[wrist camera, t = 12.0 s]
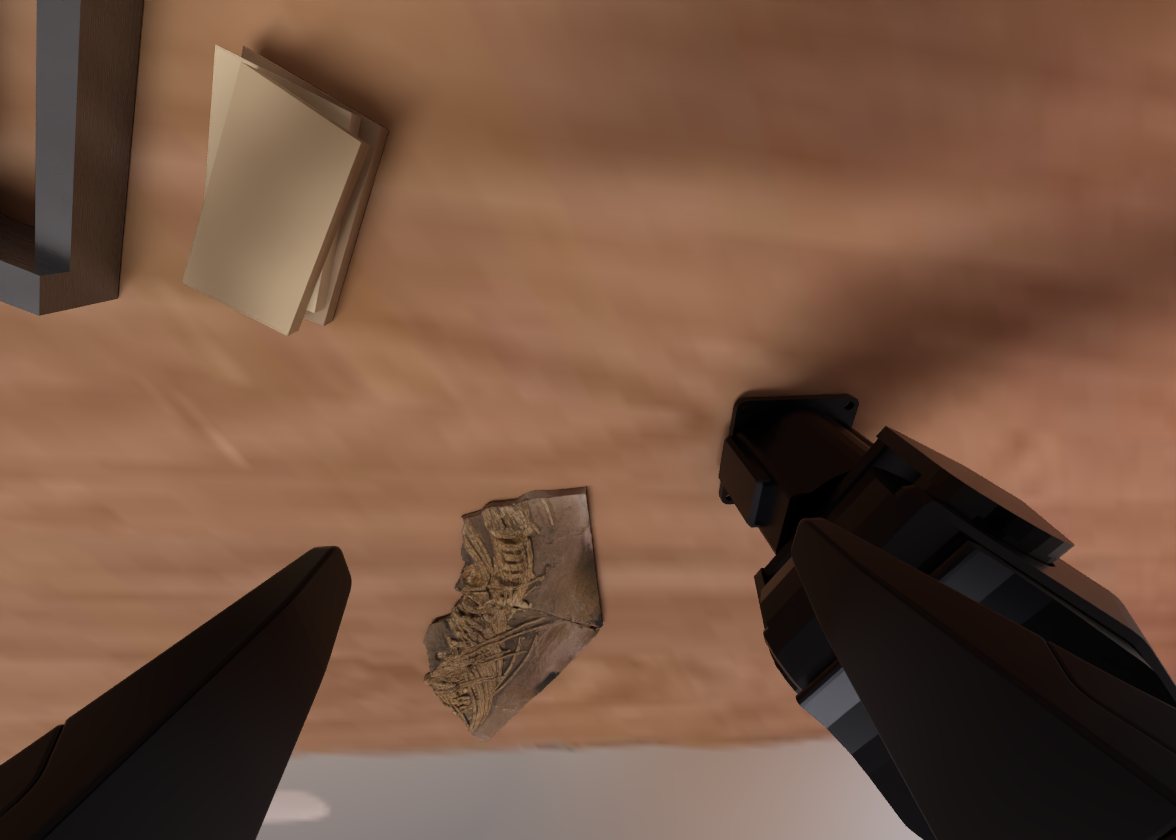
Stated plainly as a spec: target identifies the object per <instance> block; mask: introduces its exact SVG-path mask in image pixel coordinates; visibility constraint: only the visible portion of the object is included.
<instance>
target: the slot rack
mask: <svg viewBox="0 0 1176 840" xmlns="http://www.w3.org/2000/svg"><path fill="white" fill-rule="evenodd" d="M142 9H143V0H37V59H36V188H35V228H32V227H30V226H28V225H25V224H23V223H21V222H18V221H16V220H13V219H11V218H9V217H6V216H4V215H2V214H0V301H2V302H4V303H7V304H10V305H12V306H15V307H18V308H20V309H23V310H26V311H28V312H31V313H34V314H36V315H39V316H40V315H44V314H49V313H54V312H58V311H63V310H68V309H72V308H77V307H81V306H86V305H91V304H95V303H100V302H105V301H109V300H114V299H117V298H118V287H119V275H120V264H121V252H122V240H123V229H124V217H125V206H126V194H127V182H128V171H129V159H130V148H131V136H132V125H133V113H134V101H135V90H136V78H137V67H138V55H139V43H140V32H141V20H142Z"/></svg>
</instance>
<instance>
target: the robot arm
mask: <svg viewBox="0 0 1176 840" xmlns="http://www.w3.org/2000/svg"><path fill="white" fill-rule="evenodd" d="M848 402H849V404H848V405H847V406H846V407H844V406H845V404H846V403H848ZM746 405H748V407H747V409H746V410H744V411H741V410H742V408H743V407H744V406H746ZM858 405H859V402H858V399H856V398H855V397H853V396H852V395H850V394H834V395H806V396H779V397H751V398H741V399H739V400H738V401H737V402H736V403H735V405H734V408H733V414H732V420H731V426H730V432H729V436H728V437H727V438H726V439H725V441H724V447H723V453H722V459H721V465H720V471H719V479H720V481H721V484H720V490H719V497H720V498H721V500H722V502H723V503H725V504H735V505H736V507H737V508H738V510H739V511H740V513H741V515H742V516H743V518H744V520H745V521H746V523H747V524H748V525H749V526H750V527H751V528H752V527H758V528H759V529H760V531H761V533H762V534H763V536H764V537H765V539H766V540H767V542H768V543H769V545H770V546H771V548H772V550H773V551H774V553H775V554H776V556H775V557H774V558H773V559H772V560H771V561H770V562H769V564H768V565H767V566H766V567H765V568H761V569H760V570H759V571H758V572H757V574H756V575H755V576H754V579H755V584H756V589H757V594H758V599H759V604H760V609H761V614H762V618H763V623H764V628H765V630H764V632H763V635H764V639H765V642H766V644H767V646H768V647H769V650H770V653H771V656H772V658H773V660H774V662H775V665H776V667H777V668H778V670H779V671H780V672H781V674H782V675H783V677H784V678H785V679H786V681H787V682H788V683H789V684H790V686H791V687H792V688H793V689H794V690H795V692H796V693H797V695H796V700H797V702H798V703H799V705H800V706H801V707H802V708H804V709H805V710H806V711H807V712H808V713H809V714H811V715H812V716H813V717H814V718H815V719H816V720H818V721H819V722H820V723H821V724H822V725H823V726H825V727H826V728H827V729H828V730H829V731H830V732H831V733H832V734H833V736H834V737H835V738H836V739H837V740H838V741H839V742H840V743H841V744H842V745H843V746H844V747H845V748H846V749H847V750H848V751H849V753H850V754H851V755H852V756H853V757H854V758H855V760H856V761H857V762H858V764H859V765H860V766H861V767H862V769H863V770H864V771H865V772H866V773H867V775H868V776H869V777H870V779H871V780H872V781H873V783H874V784H875V785H876V787H877V788H878V789H879V791H880V792H881V793H882V795H883V796H884V797H885V799H886V800H887V801H888V803H889V804H890V806H892V808H893V809H894V811H895V812H896V814H897V815H898V816H899V818H900V819H901V820H902V821H903V823H904V824H905V825H906V826H907V827H908V828H909V829H910V830H911V831H913V832H914V833H915V834H917V835H918V836H919V837H921V838H922V839H923V840H1176V685H1175V683H1174V682H1173V680H1172V679H1171V677H1170V675H1169V674H1168V672H1167V671H1166V669H1165V668H1164V666H1163V665H1162V663H1161V662H1160V660H1159V658H1158V657H1157V655H1156V654H1155V652H1154V651H1153V649H1152V648H1151V646H1150V644H1149V643H1148V641H1147V640H1146V638H1145V637H1144V635H1143V634H1142V632H1141V631H1140V629H1139V627H1138V626H1137V624H1136V623H1135V621H1134V620H1133V618H1132V617H1131V615H1130V614H1129V612H1128V610H1127V609H1126V607H1125V606H1124V605H1123V603H1122V602H1121V601H1120V600H1119V599H1118V598H1117V597H1116V596H1115V595H1114V594H1112V593H1111V592H1110V591H1109V590H1107V589H1105V588H1104V587H1102V586H1101V585H1099V584H1098V583H1096V582H1095V581H1093V580H1092V579H1090V578H1089V577H1087V576H1086V575H1084V574H1082V573H1081V572H1079V571H1078V570H1076V569H1075V568H1073V567H1072V566H1070V565H1069V564H1067V563H1066V562H1064V561H1063V560H1061V559H1060V557H1061V556H1062V555H1063V554H1064V553H1066V552H1067V551H1068V550H1069V549H1071V548H1072V547H1073V546H1074V544H1073V543H1072V542H1071V541H1070V540H1069V539H1067V538H1066V537H1065V536H1064V535H1063V534H1061V533H1060V532H1059V531H1058V530H1057V529H1055V528H1054V527H1053V526H1052V525H1051V524H1049V523H1048V522H1047V521H1046V520H1045V519H1043V518H1042V517H1041V516H1040V515H1038V514H1037V513H1036V512H1035V511H1034V510H1032V509H1031V508H1030V507H1029V506H1028V505H1026V504H1025V503H1024V502H1023V501H1021V500H1020V499H1018V498H1017V497H1015V496H1013V495H1012V494H1010V493H1008V492H1007V491H1005V490H1003V489H1002V488H1000V487H998V486H997V485H995V484H993V483H992V482H990V481H988V480H987V479H985V478H983V477H982V476H980V475H979V474H977V473H975V472H974V471H972V470H970V469H969V468H967V467H965V466H963V465H962V464H960V463H958V462H956V461H954V460H952V459H950V458H948V457H946V456H944V455H942V454H940V453H938V452H936V451H934V450H932V449H930V448H928V447H927V446H925V445H923V444H921V443H919V442H917V441H915V440H913V439H911V438H909V437H907V436H905V435H903V434H901V433H899V432H897V431H895V430H893V429H891V428H889V427H887V426H885V427H884V428H883V429H882V431H881V432H880V433H879V434H878V435H877V436H876V437H877V438H878V439H877V441H876V442H875V443H874V444H873V443H872V442H871V441H869V440H868V439H867V438H865V437H864V436H863V435H861V434H860V433H858V432H857V431H856V430H854V429H853V428H852V424H853V421H854V418H855V415H856V412H857V409H858ZM728 494H729V495H730V496H727V495H728ZM726 496H727V497H726ZM350 590H351V575H350V573H349V570H348V567H347V564H346V561H345V559H344V556H343V553H342V551H341V549H340V548H339V547H337V546H323V547H315V548H313V549H311V550H309V551H308V552H306V553H305V554H304V555H302V556H301V557H299V558H298V559H296V560H295V561H293V562H292V563H291V564H289V565H288V566H286V567H285V568H283V569H282V570H281V571H279V572H278V573H276V574H275V575H273V576H272V577H271V578H269V579H268V580H266V581H265V582H263V583H262V584H260V585H259V586H258V587H256V588H255V589H253V590H252V591H250V592H249V593H248V594H246V595H245V596H243V597H242V598H240V599H239V600H238V601H236V602H235V603H233V604H232V605H230V606H229V607H227V608H226V609H225V610H223V611H222V612H220V613H219V614H217V615H216V616H215V617H213V618H212V619H210V620H209V621H207V622H206V623H205V624H203V625H202V626H200V627H199V628H197V629H196V630H194V631H193V632H192V633H190V634H189V635H187V636H186V637H184V638H183V639H182V640H180V641H179V642H177V643H176V644H174V645H173V646H172V647H170V648H169V649H167V650H166V651H164V652H163V653H161V654H160V655H159V656H157V657H156V658H154V659H153V660H151V661H150V662H149V663H147V664H146V665H144V666H143V667H141V668H140V669H138V670H137V671H136V672H134V673H133V674H131V675H130V676H128V677H127V678H126V679H124V680H123V681H121V682H120V683H118V684H117V685H115V686H114V687H113V688H111V689H110V690H108V691H107V692H105V693H104V694H103V695H101V696H100V697H98V698H97V699H95V700H94V701H92V702H91V703H90V704H88V705H87V706H85V707H84V708H82V709H81V710H80V711H78V712H77V713H75V714H74V715H72V716H71V717H69V718H68V719H67V720H66V722H65V724H64V725H63V724H62V725H58V726H56V727H55V728H53V729H52V730H51V731H49V732H48V733H46V734H45V735H44V736H42V737H41V738H39V739H38V740H36V741H35V742H33V743H32V744H31V745H29V746H28V747H26V748H25V749H23V750H22V751H21V752H19V753H18V754H16V755H15V756H13V757H12V758H10V759H9V760H7V761H6V762H4V763H3V764H2V765H0V840H256V837H257V835H258V833H259V830H260V828H261V825H262V823H263V821H264V818H265V816H266V813H267V811H268V809H269V806H270V804H271V801H272V799H273V797H274V794H275V792H276V789H277V787H278V784H279V782H280V780H281V777H282V775H283V773H284V770H285V768H286V766H287V763H288V761H289V758H290V756H291V754H292V751H293V749H294V746H295V744H296V742H297V739H298V737H299V734H300V732H301V730H302V727H303V725H304V722H305V720H306V718H307V715H308V713H309V711H310V708H311V706H312V703H313V701H314V699H315V696H316V694H317V691H318V689H319V687H320V684H321V681H322V679H323V676H324V674H325V671H326V668H327V665H328V662H329V659H330V656H331V653H332V649H333V646H334V643H335V640H336V636H337V633H338V630H339V626H340V623H341V620H342V616H343V613H344V610H345V607H346V603H347V600H348V597H349V593H350Z"/></svg>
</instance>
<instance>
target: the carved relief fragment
mask: <svg viewBox="0 0 1176 840" xmlns="http://www.w3.org/2000/svg"><path fill="white" fill-rule="evenodd" d="M586 487H587V486H586ZM586 487H581V488H572V489H560V490H534V491H530V492H527V493H525V494H523V495H521V496H520V497H519V498H518V499H514V500H509V501H504V502H491V503H490V504H488V505H486V506H485V508H483V509H482V510H481V511H477V512H474V513H472V514H467V515H464V516H463V517H461V518H460V519H461V520H463V521H464V522H465V523H464V527H463V530H462V534H463V535H464V536H463V541H464V542H463V546H462V549H461V551H462V553H461V555H462V560H463V561H466V562H465V566H464V568H463V570H464V571H463V572H461V576H460V580H459V581H458V582H457V584H456V586H455V589H456V591H460V592H461V593H462V594H463V596H462V597H461V599H460V601H458V602H457V604H456V605H455V607H454V608H453V610H452V612H451V614H450V615H446V616H445V617H443V618H441V619H439V620H438V621H437V622H435V623H433V624H431V626H430V628H429V629H428V631H427V633H426V636H425V638H424V640H423V643H424V644H425V646H426V649H427V655H428V657H429V663H430V664H431V665H430V667H429V668H430V673H429V674H428V675H426V676H425V677H424V682H425V683H426V684H427V686H431V687H432V688H433V690H434V692H435V694H436V695H437V696H438V697H439V698H440V700H441V702H442V703H443V704H444V705H445V706H446V707H450V709H451V710H452V712H453V713H454V714H455V715H456V716H457V718H458V717H460V718H461V719H462V720H463V722H465V725H466V729H467V730H468V731H469V732H470V733H471V734H472V735H473V736H475V737H476V739H477V740H480V741H483V742H485V741H488V740H489V739H490V738H491V737H492V736H493V735H494V734H495V733H496V732H497V731H498V730H499V729H501V728H502V727H503V726H504V725H505V724H506V723H507V722H508V721H509V720H510V719H511V718H512V717H513V716H514V715H516V713H517V712H518V711H519V710H520V709H521V708H523V706H524V705H525V704H527V703H528V702H529V701H530V700H531V699H532V698H533V697H534V696H536V695H537V694H538V693H540V692H541V691H542V690H543V689H544V688H545V687H546V686H547V685H548V684H549V683H550V682H551V681H552V680H553V679H555V678H556V677H557V676H558V675H559V673H561V672H562V670H563V669H564V668H565V667H566V666H567V665H568V664H569V663H570V662H571V661H572V660H573V659H574V658H575V657H576V656H577V655H578V653H579V651H581V649H583V647H586V646H587V644H589V642H590V641H591V640H592V639H593V638H594V637H595V636H596V635H597V633H598V631H599V629H598V630H593V629H590V626H595V627H596V628H597V627H598V628H601V627H602V626H603V623H602V618H601V611H600V605H599V595H598V588H597V581H596V572H595V563H594V553H593V546H592V541H591V540H592V539H591V537H592V535H591V532H590V523H589V514H588V509H587V506H588V505H587V501H586ZM596 628H595V629H596Z"/></svg>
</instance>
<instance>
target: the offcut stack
mask: <svg viewBox="0 0 1176 840" xmlns="http://www.w3.org/2000/svg"><path fill="white" fill-rule="evenodd" d="M388 131H389V130H387V129H385V128H384V127H382V126H380V125H379V124H377V123H375V122H374V121H372V120H370V119H368V118H367V117H365V116H363V115H362V114H360V113H358V112H357V111H355V110H353V109H351V108H350V107H348V106H346V105H345V104H343V103H341V102H340V101H338V100H336V99H334V98H333V97H331V96H329V95H328V94H326V93H324V92H323V91H321V90H319V89H317V88H316V87H314V86H312V85H311V84H309V83H307V82H306V81H304V80H302V79H300V78H299V77H297V76H295V75H294V74H292V73H290V72H289V71H287V70H285V69H283V68H282V67H280V66H278V65H277V64H275V63H273V62H272V61H270V60H268V59H266V58H265V57H263V56H261V55H260V54H258V53H256V52H254V51H252V50H250V49H248V48H246V47H244V46H243V50H242V56H241V57H240V56H238V55H236V54H234V53H232V52H230V51H228V50H226V49H224V48H222V47H219V46H217V45H215V59H214V73H213V87H212V101H211V115H210V129H209V143H208V156H207V170H206V184H205V198H204V202H203V206H202V210H201V214H200V217H199V221H198V225H197V229H196V232H195V236H194V240H193V244H192V247H191V251H190V255H189V259H188V262H187V266H186V270H185V274H184V277H183V281H182V283H183V284H185V285H187V286H189V287H191V288H193V289H195V290H197V291H199V292H201V293H203V294H205V295H207V296H209V297H211V298H213V299H215V300H217V301H219V302H221V303H223V304H225V305H227V306H229V307H231V308H233V309H235V310H237V311H239V312H241V313H243V314H245V315H247V316H249V317H251V318H253V319H254V320H256V321H258V322H260V323H262V324H264V325H266V326H268V327H270V328H272V329H274V330H276V331H278V332H280V333H282V334H284V335H286V336H288V335H290V334H292V333H294V332H296V331H298V330H299V327H300V325H301V322H302V320H303V318H305V319H308V320H310V321H312V322H315V323H317V324H319V325H321V326H325V325H327V324H329V323H330V322H332V320H333V316H334V313H335V310H336V306H337V303H338V300H339V296H340V293H341V289H342V286H343V283H344V279H345V276H346V273H347V269H348V266H349V263H350V259H351V256H352V252H353V249H354V246H355V242H356V239H357V236H358V232H359V229H360V225H361V222H362V219H363V215H364V212H365V209H366V205H367V202H368V198H369V195H370V192H371V188H372V185H373V182H374V178H375V175H376V171H377V168H378V165H379V161H380V158H381V155H382V151H383V148H384V144H385V141H386V138H387V134H388Z"/></svg>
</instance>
